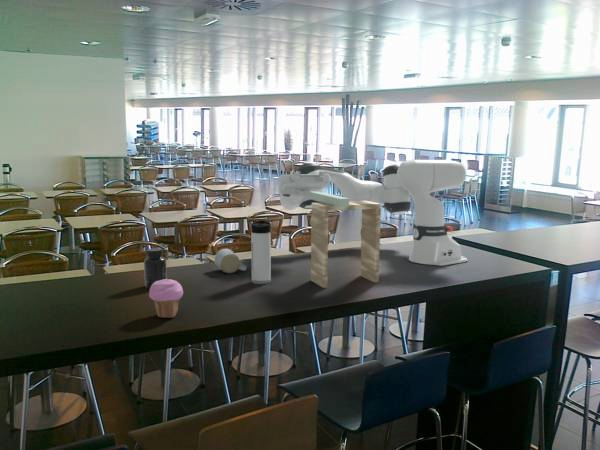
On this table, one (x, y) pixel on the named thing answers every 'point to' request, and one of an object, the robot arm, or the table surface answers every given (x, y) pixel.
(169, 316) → the cupcake
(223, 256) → the ceramic mug
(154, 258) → the supplement bottle
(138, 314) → the table surface
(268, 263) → the travel mug
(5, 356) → the table surface
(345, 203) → the bar
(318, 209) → the frame
